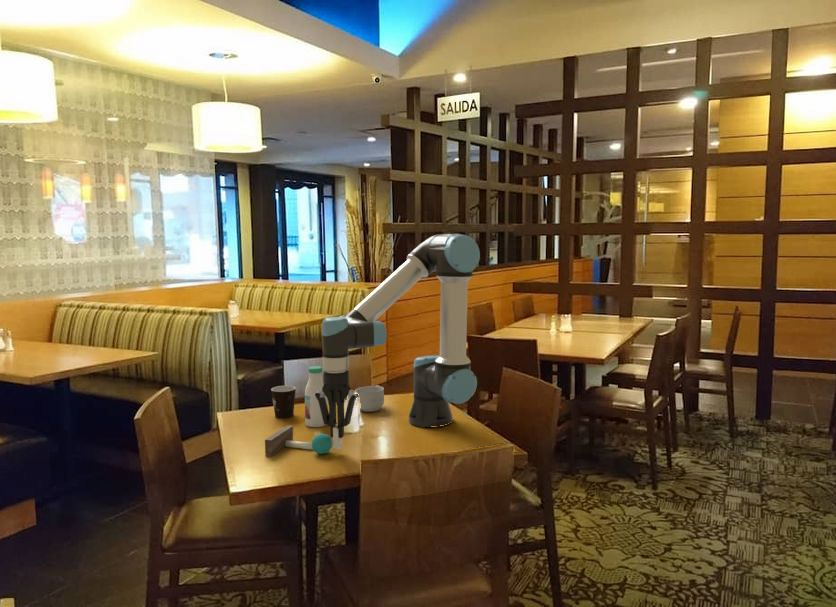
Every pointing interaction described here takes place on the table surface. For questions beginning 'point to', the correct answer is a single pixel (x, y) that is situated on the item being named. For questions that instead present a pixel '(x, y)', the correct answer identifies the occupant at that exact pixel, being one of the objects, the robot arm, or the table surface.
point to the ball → (321, 443)
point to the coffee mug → (283, 401)
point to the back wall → (278, 441)
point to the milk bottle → (314, 398)
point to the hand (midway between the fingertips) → (337, 447)
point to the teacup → (371, 398)
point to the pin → (298, 445)
